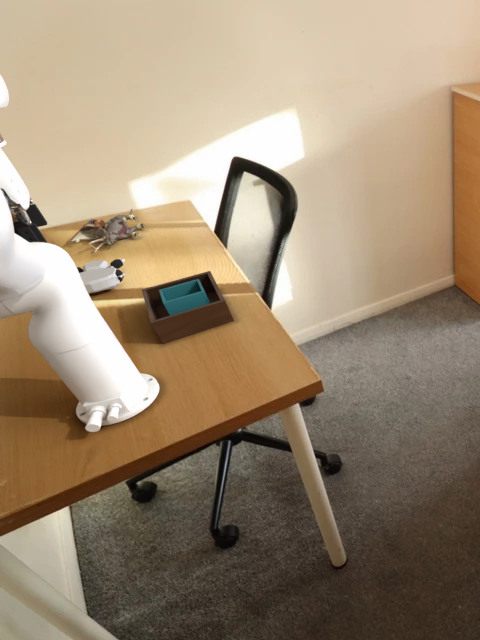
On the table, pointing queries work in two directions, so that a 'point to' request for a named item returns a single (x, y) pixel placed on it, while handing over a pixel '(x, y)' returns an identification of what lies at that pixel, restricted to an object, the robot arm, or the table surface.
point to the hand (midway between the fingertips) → (37, 236)
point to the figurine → (107, 230)
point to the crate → (190, 319)
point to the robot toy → (101, 275)
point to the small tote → (184, 297)
